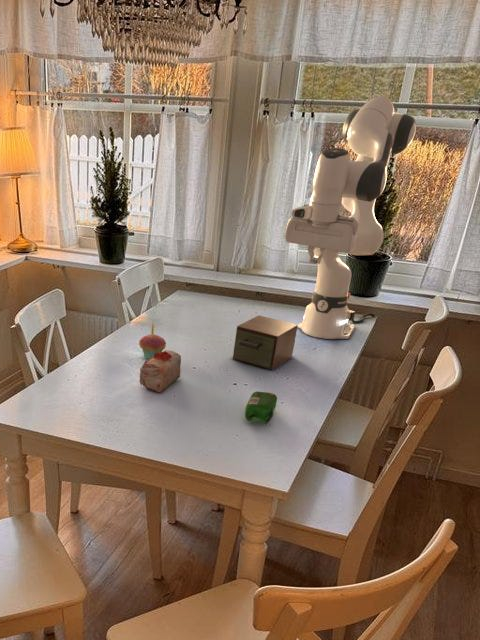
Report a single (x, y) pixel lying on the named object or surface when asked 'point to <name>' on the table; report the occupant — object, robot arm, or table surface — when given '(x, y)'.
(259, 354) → the drawer
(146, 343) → the cupcake
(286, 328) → the cabinet
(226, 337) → the table surface
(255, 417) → the snack package
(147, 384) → the food item
